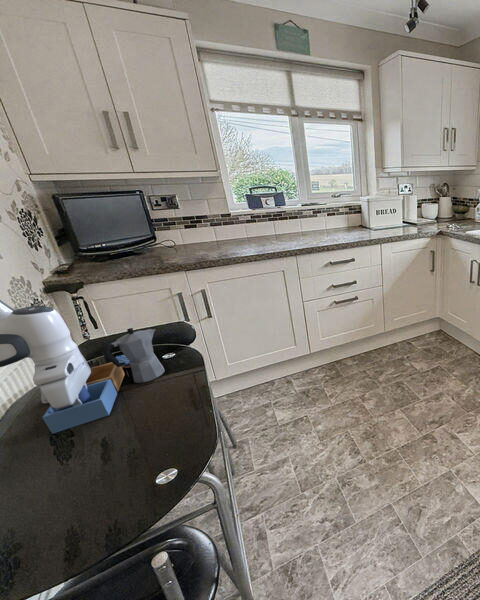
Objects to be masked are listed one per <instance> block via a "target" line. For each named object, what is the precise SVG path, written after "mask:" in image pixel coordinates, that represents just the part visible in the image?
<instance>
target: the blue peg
mask: <svg viewBox="0 0 480 600" xmlns="http://www.w3.org/2000/svg"><path fill="white" fill-rule="evenodd" d="M78 396H79V399H80V400H82V401H83V403H84V404H85V403H88V402H91V401H93V400H92V398H91V396H90V394H89V392H88V390H87V389H86V387H85V385H84V386H83V387H82V389H81V391H80V393H79V394H78Z"/></svg>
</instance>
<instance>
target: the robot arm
mask: <svg viewBox="0 0 480 600" xmlns="http://www.w3.org/2000/svg"><path fill="white" fill-rule="evenodd" d="M28 358H29V359H31V360H32V362H33V364H34V373H33V377H32V381H33V384H34V383H35V384H34V386H37V385H41V391H42V393H43V394H44V396H45V398H46V399H47V401H48V402H49V403H48V404H49V406H52V407H53V408H55V409H60V408H64V407H67V406H70V405H73V407H75V406H78V405H81V404H84V403H83V401H82V400H80V399H79V396H78V394H79V393H80V391H81V389H82V387H83V386H84V385H85V387H86V389H87V385H86V380H87V379H88V377H89V375H90V374H91V369H90V368H91V366H90V365H89V363H88V361H87V360H86V358H85V357H84V355H83V354H82V352H81V351H80V349H79V346H78V344H77V343H76V342H74V340H73V339H72V337H71V331H70V329H69V327H68V325H67V324H66V322H65V320H64V319H63V317H62V316H61V315H60V313H59V312H58V311H57V310H56V309H55V308H53V307H51V306H46V305H31V306H25V307H20V308H17V309H15V308H13V307H12V306H10V305H8V304H7V303H6V302H4V300H2V299H0V368H4V367H6V366H10V365H12V364H15V363H17V362H20V361H22V360H24V359H28ZM41 391H40V392H41Z"/></svg>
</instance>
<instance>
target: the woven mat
mask: <svg viewBox="0 0 480 600" xmlns="http://www.w3.org/2000/svg"><path fill="white" fill-rule="evenodd" d="M114 357H115V358H116V359H118V361H119V363H123V362H125V365H123V366H121V367H122V369H128V368H131V364H130V360H128V359H127V358H126V356H125V355H124V354H121V355H116V356H114Z"/></svg>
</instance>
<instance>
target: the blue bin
mask: <svg viewBox="0 0 480 600" xmlns="http://www.w3.org/2000/svg"><path fill="white" fill-rule="evenodd" d="M87 390H88V392H89V394H90V396H91V398H92V400H93V401H91V402H88V403H85V404H81V405H78V406H75V407H73V405H70V406H67V407H64V408H60V409H55V408H53V407H52V406H51V405H49V407H48V408H47V410H46V411H45V413H44V414H43V415H42V419H43V421H44V423H45V424H46V426H47V428H48V429H49V431H50V432H51V434H52V435H53V434H57V433H59V432H62V431H65V430H68V429H71V428H75V427H78V426H81V425H84V424H87V423H89V422H93V421H96V420H98V419H102V418H105V417H108V416H110V414H111V411H112V409H113V407H114V404H115V401H116V398H117V396H118V392H116V390H115V388H114V386H113V384H112V382H111V380H110V379H108V380H105V381H102V382H98V383H95V384H91V385H88V386H87Z"/></svg>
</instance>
